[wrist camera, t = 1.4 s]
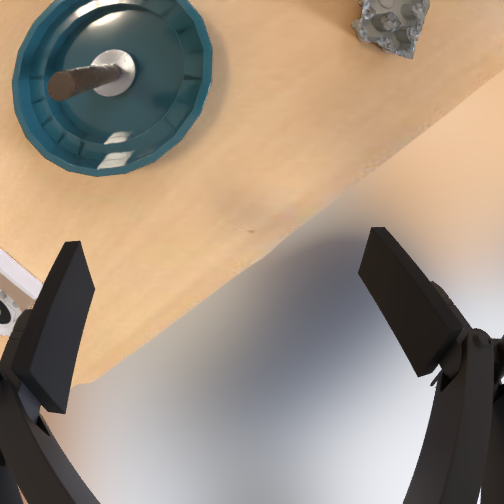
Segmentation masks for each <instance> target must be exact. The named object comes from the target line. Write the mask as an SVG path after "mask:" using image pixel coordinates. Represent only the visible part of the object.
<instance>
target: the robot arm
mask: <svg viewBox="0 0 504 504" xmlns="http://www.w3.org/2000/svg"><path fill="white" fill-rule="evenodd" d="M358 274H359V276H360V277H361V279H362V280H363V282H364V284H365V285H366V287H367V288H368V290H369V292H370V293H371V295H372V297H373V298H374V300H375V302H376V303H377V305H378V307H379V308H380V310H381V312H382V314H383V315H384V317H385V319H386V320H387V322H388V324H389V326H390V327H391V329H392V331H393V333H394V334H395V336H396V338H397V340H398V341H399V343H400V345H401V347H402V349H403V350H404V352H405V354H406V356H407V358H408V359H409V361H410V363H411V365H412V367H413V369H414V371H415V372H416V374H417V376H418V377H421V376H424V375H427V374H430V373H432V372H433V371H434V370H435V368H436V367H437V366H438V364H439V365H440V366H441V368H442V370H441V371H440V372H439V374H438V375H437V376H436V377H435V379H434V380H433V381H432V383H431V385H430V386H433V385H434V384H435V382H436V381H437V386H436V391H435V396H434V401H433V406H432V410H431V415H430V419H429V423H428V427H427V431H426V435H425V439H424V442H423V446H422V449H421V452H420V456H419V459H418V462H417V465H416V468H415V471H414V475H413V477H412V480H411V483H410V486H409V488H408V491H407V494H406V496H405V499H404V501H403V504H477V501H478V497H479V492H480V488H481V503H480V504H504V384H502V382H501V379H502V378H503V376H504V335H503V337H502V338H501V339H492V338H490V336H489V335H488V334H487V333H486V332H485V331H483V330H481V329H477V328H475V329H472V328H471V326H470V325H469V323H468V322H467V321H466V319H465V318H464V316H463V315H462V314H461V313H460V311H459V310H458V308H457V307H456V306H455V305H454V303H453V302H452V300H451V299H449V297H448V295H447V294H446V293H445V291H444V290H443V289H442V288H441V287H440V286H439V285H437V284H436V283H434V282H433V281H432V282H430V281H429V280H428V278H427V277H426V276H425V275H424V273H423V272H422V271H421V270H420V269H419V267H418V266H417V265H416V263H415V262H414V261H413V260H412V259H411V257H410V256H409V255H408V254H407V253H406V251H405V250H404V249H403V248H402V247H401V246H400V244H399V243H398V242H397V241H396V240H395V239H394V237H393V236H392V235H391V234H390V233H389V232H388V231H387V230H386V228H385V227H372V228H371V230H370V234H369V238H368V241H367V245H366V248H365V252H364V255H363V259H362V262H361V265H360V269H359V271H358ZM94 291H95V287H94V284H93V281H92V278H91V275H90V272H89V269H88V266H87V262H86V259H85V256H84V252H83V249H82V245H81V242H80V241H71V242H65V243H64V245H63V247H62V249H61V251H60V253H59V255H58V256H57V258H56V260H55V262H54V264H53V266H52V268H51V270H50V272H49V274H48V276H47V278H46V280H45V283H44V285H43V287H42V289H41V291H40V293H39V296H38V298H37V300H36V302H35V305H34V307H33V309H25V310H24V311H23V312H22V313H21V315H20V316H19V317H18V318H17V320H16V322H15V325H14V327H13V331H12V332H11V334H10V337H9V340H8V342H7V344H6V347H5V350H4V352H3V355H2V358H1V360H0V504H23V501H22V498H21V495H20V492H19V489H18V486H19V488H20V490H21V492H22V494H23V495H24V497H25V499H26V500H27V502H28V504H100V502H99V501H98V500H97V499H96V497H95V496H94V495H93V494H92V492H91V491H90V490H89V488H88V487H87V486H86V484H85V483H84V482H83V480H82V479H81V477H80V476H79V475H78V473H77V472H76V470H75V469H74V467H73V466H72V464H71V463H70V462H69V460H68V458H67V457H66V455H65V454H64V452H63V451H62V449H61V447H60V446H59V444H58V443H57V441H56V439H55V438H54V436H53V434H52V432H51V431H50V429H49V427H48V425H47V424H46V422H45V420H44V418H43V416H42V415H41V414H40V413H39V411H40V406H41V405H42V406H43V407H44V408H45V409H46V410H47V411H48V412H53V413H60V414H65V413H66V408H67V402H68V397H69V391H70V386H71V381H72V376H73V371H74V367H75V362H76V358H77V353H78V349H79V345H80V341H81V337H82V333H83V329H84V326H85V322H86V318H87V315H88V311H89V308H90V304H91V301H92V298H93V294H94ZM17 484H18V485H17Z"/></svg>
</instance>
